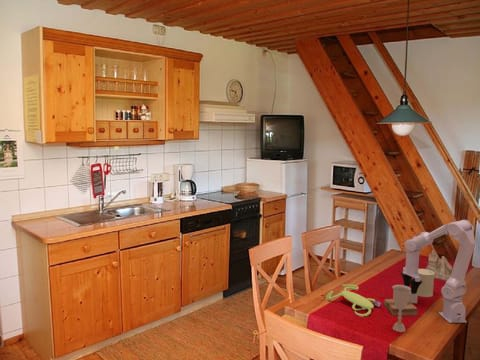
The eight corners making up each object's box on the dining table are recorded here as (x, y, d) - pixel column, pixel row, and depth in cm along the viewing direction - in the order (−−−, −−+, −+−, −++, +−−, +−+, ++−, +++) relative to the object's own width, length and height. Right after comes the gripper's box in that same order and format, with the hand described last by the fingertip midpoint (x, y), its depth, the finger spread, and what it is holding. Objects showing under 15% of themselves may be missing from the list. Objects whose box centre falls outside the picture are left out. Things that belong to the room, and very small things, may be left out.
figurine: (348, 291, 220) (348, 280, 220) (390, 310, 198) (390, 298, 197) (321, 298, 211) (321, 287, 210) (361, 319, 188) (362, 307, 188)
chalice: (404, 325, 182) (406, 284, 180) (411, 332, 176) (413, 291, 173) (387, 325, 182) (389, 284, 180) (393, 332, 175) (396, 291, 173)
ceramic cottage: (447, 281, 233) (449, 254, 232) (419, 274, 246) (420, 248, 245) (460, 277, 243) (462, 251, 242) (432, 270, 256) (433, 245, 255)
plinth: (417, 315, 192) (417, 308, 191) (393, 315, 191) (393, 309, 191) (406, 304, 203) (407, 298, 202) (383, 305, 202) (384, 299, 202)
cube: (417, 303, 205) (417, 293, 204) (406, 303, 205) (407, 293, 204) (412, 299, 210) (413, 289, 209) (402, 299, 210) (403, 289, 209)
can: (435, 297, 211) (436, 274, 210) (415, 296, 213) (416, 273, 212) (430, 290, 220) (432, 268, 219) (411, 289, 222) (413, 267, 220)
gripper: (397, 258, 212) (396, 284, 214) (410, 268, 197) (408, 296, 199) (411, 258, 212) (409, 284, 214) (425, 268, 198) (423, 296, 200)
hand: (410, 290), depth 207 cm, fingers open, 7 cm apart
